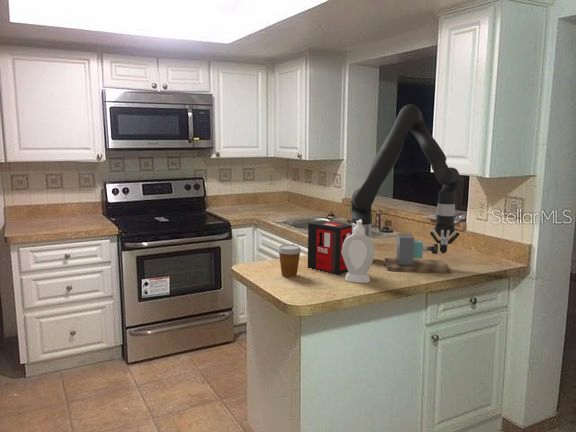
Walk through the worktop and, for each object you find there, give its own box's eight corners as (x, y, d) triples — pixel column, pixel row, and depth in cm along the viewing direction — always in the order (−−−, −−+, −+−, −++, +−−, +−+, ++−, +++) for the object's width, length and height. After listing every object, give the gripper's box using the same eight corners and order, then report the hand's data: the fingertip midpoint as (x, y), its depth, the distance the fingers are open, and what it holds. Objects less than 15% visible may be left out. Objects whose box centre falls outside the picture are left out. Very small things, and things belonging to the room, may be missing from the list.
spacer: (412, 258, 209) (413, 242, 208) (411, 255, 215) (411, 240, 214) (422, 258, 209) (422, 242, 208) (420, 256, 214) (421, 240, 213)
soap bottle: (374, 278, 194) (377, 219, 190) (372, 284, 187) (375, 223, 183) (343, 276, 198) (344, 217, 194) (340, 281, 190) (341, 221, 186)
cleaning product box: (307, 268, 209) (308, 223, 206) (319, 264, 216) (320, 220, 213) (339, 275, 199) (340, 228, 195) (350, 270, 205) (352, 225, 202)
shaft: (401, 253, 210) (401, 243, 209) (399, 251, 214) (400, 241, 214) (437, 255, 208) (438, 245, 208) (435, 252, 213) (436, 242, 212)
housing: (398, 265, 208) (400, 237, 206) (396, 260, 218) (397, 233, 216) (412, 266, 208) (414, 238, 206) (409, 260, 217) (411, 233, 215)
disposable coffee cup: (281, 279, 193) (281, 250, 191) (275, 272, 202) (275, 244, 200) (303, 277, 195) (304, 248, 193) (296, 271, 204) (297, 243, 202)
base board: (387, 270, 206) (387, 267, 206) (384, 261, 222) (384, 257, 222) (449, 273, 203) (449, 269, 203) (442, 263, 219) (442, 260, 219)
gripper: (459, 213, 210) (456, 251, 213) (428, 212, 212) (426, 250, 215) (463, 215, 203) (460, 255, 206) (431, 214, 204) (428, 254, 207)
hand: (443, 252), depth 210 cm, fingers closed
